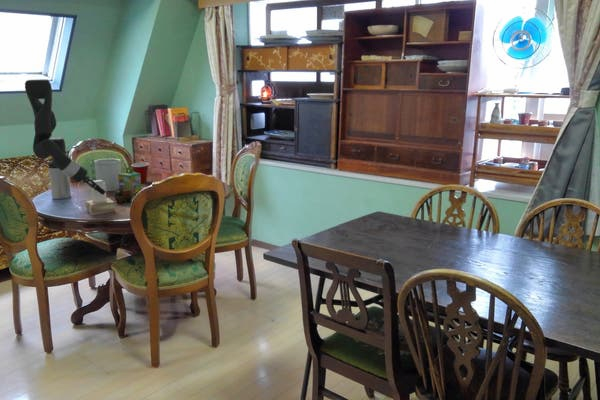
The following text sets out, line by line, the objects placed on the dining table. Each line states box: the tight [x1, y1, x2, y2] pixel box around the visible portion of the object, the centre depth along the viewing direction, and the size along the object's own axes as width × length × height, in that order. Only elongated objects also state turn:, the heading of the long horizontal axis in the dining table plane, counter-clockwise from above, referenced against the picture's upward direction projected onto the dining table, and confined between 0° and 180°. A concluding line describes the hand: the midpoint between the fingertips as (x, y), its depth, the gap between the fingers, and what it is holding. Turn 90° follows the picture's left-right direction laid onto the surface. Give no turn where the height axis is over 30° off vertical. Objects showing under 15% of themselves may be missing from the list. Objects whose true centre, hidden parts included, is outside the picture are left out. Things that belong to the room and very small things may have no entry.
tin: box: [90, 179, 108, 203], centre depth 248 cm, size 6×6×10 cm
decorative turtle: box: [113, 188, 134, 205], centre depth 268 cm, size 10×15×8 cm, turn 47°
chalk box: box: [118, 167, 142, 195], centre depth 288 cm, size 9×9×15 cm
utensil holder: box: [94, 157, 122, 192], centre depth 299 cm, size 15×15×18 cm
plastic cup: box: [131, 161, 150, 183], centre depth 319 cm, size 11×11×12 cm
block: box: [85, 197, 116, 216], centre depth 250 cm, size 11×11×5 cm
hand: (102, 192), depth 249 cm, fingers closed on tin, 5 cm apart
